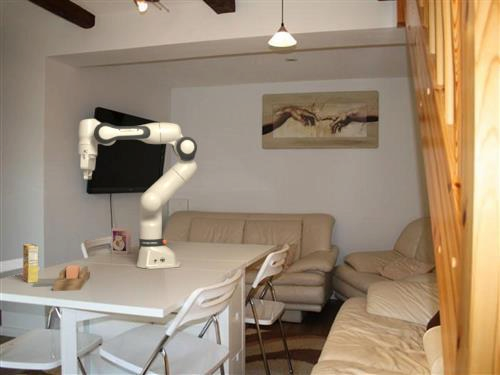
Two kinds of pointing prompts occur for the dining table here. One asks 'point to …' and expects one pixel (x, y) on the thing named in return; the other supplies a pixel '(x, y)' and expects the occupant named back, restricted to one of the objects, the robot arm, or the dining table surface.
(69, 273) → the block
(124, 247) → the greeting card
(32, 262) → the candy box
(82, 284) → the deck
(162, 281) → the dining table surface
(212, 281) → the dining table surface
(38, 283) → the trivet
